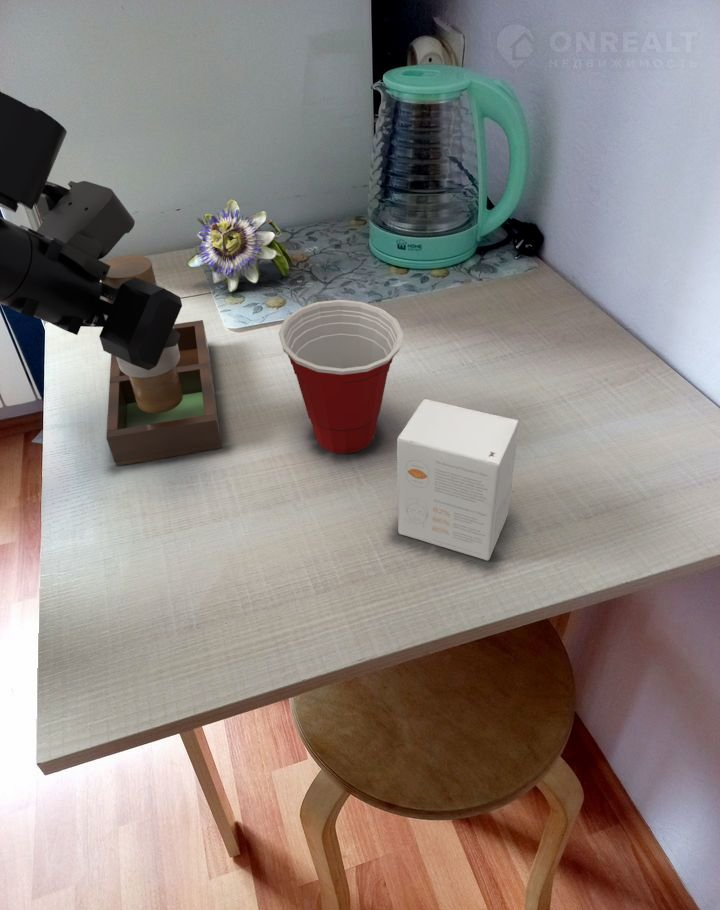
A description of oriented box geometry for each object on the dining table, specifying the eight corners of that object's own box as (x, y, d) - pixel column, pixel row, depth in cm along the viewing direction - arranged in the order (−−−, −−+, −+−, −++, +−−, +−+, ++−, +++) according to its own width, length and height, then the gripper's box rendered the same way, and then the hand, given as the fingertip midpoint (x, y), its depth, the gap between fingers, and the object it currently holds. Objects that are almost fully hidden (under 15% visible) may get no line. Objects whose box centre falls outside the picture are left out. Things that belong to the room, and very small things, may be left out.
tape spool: (157, 424, 66) (119, 287, 57) (118, 404, 68) (76, 270, 59) (201, 395, 69) (172, 261, 60) (163, 377, 72) (129, 246, 63)
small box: (508, 517, 60) (523, 419, 53) (488, 564, 56) (502, 465, 49) (420, 491, 63) (423, 395, 56) (395, 534, 59) (395, 437, 52)
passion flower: (240, 325, 96) (173, 269, 88) (243, 275, 103) (180, 218, 95) (304, 283, 91) (239, 219, 83) (302, 233, 98) (242, 170, 90)
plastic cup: (348, 490, 63) (342, 380, 55) (268, 440, 69) (252, 333, 61) (425, 432, 69) (429, 324, 61) (345, 390, 75) (339, 286, 67)
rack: (222, 448, 68) (216, 419, 66) (116, 466, 67) (106, 437, 64) (208, 346, 82) (202, 319, 80) (120, 359, 81) (112, 332, 78)
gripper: (132, 185, 47) (265, 275, 60) (-23, 139, 55) (124, 227, 69) (66, 340, 47) (213, 395, 61) (-77, 270, 56) (80, 332, 69)
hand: (155, 330), depth 65 cm, fingers closed on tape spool, 5 cm apart
